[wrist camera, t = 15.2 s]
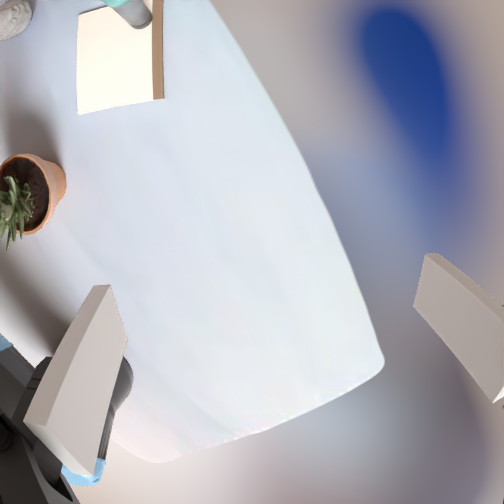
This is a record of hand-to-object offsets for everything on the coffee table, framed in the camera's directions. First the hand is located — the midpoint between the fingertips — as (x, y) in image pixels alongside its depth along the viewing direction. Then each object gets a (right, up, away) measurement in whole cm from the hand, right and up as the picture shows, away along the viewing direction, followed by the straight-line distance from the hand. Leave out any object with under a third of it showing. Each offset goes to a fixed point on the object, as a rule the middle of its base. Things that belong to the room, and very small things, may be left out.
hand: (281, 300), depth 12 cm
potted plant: (-28, +11, +21) cm, 37 cm away
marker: (-14, +29, +14) cm, 35 cm away
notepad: (-17, +25, +16) cm, 34 cm away
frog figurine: (-32, +33, +11) cm, 47 cm away
